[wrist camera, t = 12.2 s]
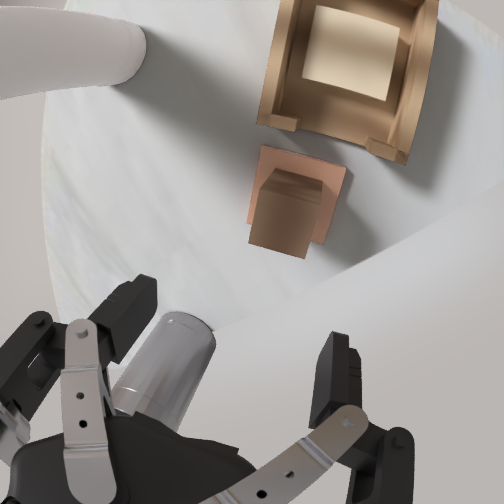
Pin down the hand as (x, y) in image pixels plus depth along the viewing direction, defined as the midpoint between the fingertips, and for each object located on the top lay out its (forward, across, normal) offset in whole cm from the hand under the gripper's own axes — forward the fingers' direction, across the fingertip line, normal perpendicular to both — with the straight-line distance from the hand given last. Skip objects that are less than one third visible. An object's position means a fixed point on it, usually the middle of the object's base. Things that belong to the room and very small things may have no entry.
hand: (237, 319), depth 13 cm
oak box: (+19, -3, -15) cm, 24 cm away
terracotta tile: (+19, -1, 0) cm, 19 cm away
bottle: (+19, +21, -13) cm, 31 cm away
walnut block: (+18, 0, 0) cm, 18 cm away
